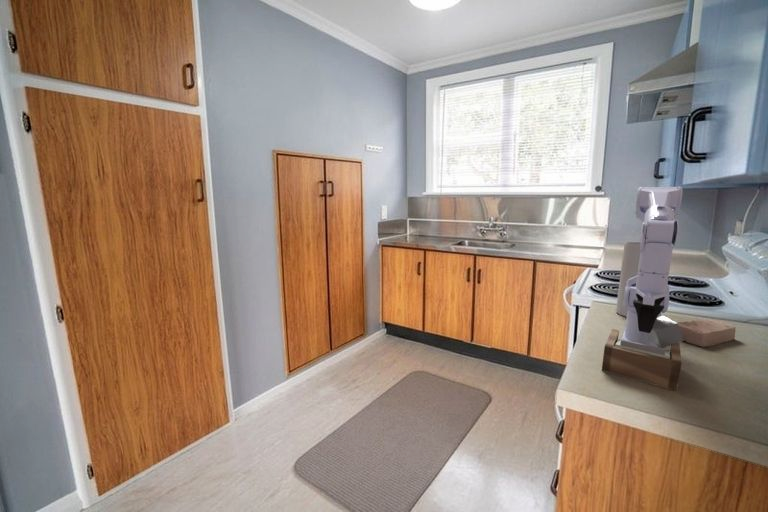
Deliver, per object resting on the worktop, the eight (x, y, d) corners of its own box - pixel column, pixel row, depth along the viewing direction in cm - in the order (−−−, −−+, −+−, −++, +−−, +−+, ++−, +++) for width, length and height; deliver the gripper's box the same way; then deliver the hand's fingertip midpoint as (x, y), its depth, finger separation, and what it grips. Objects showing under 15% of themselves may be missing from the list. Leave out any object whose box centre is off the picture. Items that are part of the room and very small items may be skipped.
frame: (609, 350, 91) (612, 329, 90) (675, 366, 82) (679, 342, 81) (601, 370, 80) (604, 346, 79) (676, 390, 72) (681, 364, 71)
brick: (701, 330, 107) (703, 315, 106) (736, 340, 99) (739, 325, 98) (667, 338, 101) (670, 322, 100) (702, 349, 93) (705, 333, 92)
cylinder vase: (618, 317, 116) (627, 245, 112) (613, 307, 127) (621, 241, 123) (664, 324, 111) (676, 247, 107) (655, 313, 122) (665, 243, 118)
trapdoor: (618, 342, 89) (620, 334, 89) (667, 353, 82) (669, 344, 82) (614, 348, 80) (616, 339, 80) (669, 361, 73) (670, 351, 73)
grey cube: (648, 339, 85) (642, 323, 84) (669, 332, 84) (663, 315, 83) (661, 348, 81) (655, 331, 80) (683, 340, 80) (677, 323, 79)
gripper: (634, 265, 88) (627, 315, 90) (629, 274, 77) (622, 331, 79) (670, 268, 83) (662, 321, 86) (670, 279, 72) (661, 339, 75)
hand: (645, 327), depth 82 cm, fingers open, 7 cm apart
